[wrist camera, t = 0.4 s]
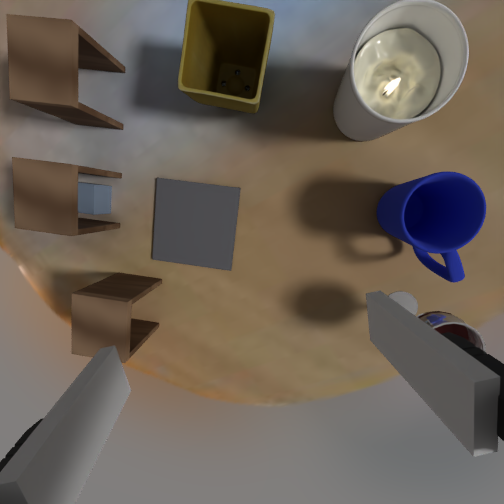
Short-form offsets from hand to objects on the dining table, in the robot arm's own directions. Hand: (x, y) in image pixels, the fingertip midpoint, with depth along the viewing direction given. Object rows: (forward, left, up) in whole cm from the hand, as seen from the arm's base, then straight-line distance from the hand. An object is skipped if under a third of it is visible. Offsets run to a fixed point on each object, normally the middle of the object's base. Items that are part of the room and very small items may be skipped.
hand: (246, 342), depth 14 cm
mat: (-2, -11, -27) cm, 29 cm away
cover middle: (-4, -26, -27) cm, 37 cm away
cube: (-4, -26, -27) cm, 37 cm away
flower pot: (-21, -7, -27) cm, 35 cm away
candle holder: (-20, +10, -27) cm, 35 cm away
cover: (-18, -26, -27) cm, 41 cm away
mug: (-6, +18, -27) cm, 33 cm away
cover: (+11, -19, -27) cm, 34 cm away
